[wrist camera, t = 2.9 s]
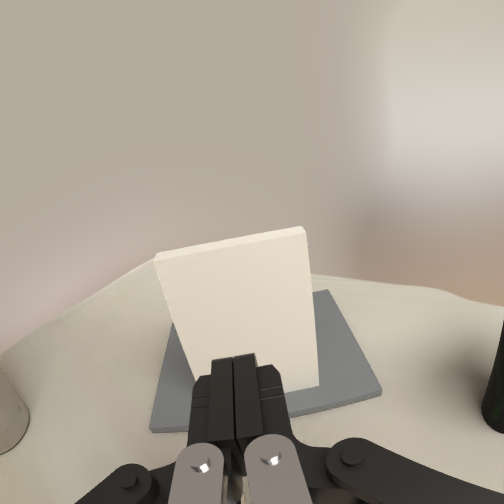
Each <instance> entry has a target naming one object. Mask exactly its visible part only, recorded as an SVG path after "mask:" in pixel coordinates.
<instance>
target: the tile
mask: <svg viewBox="0 0 504 504" xmlns="http://www.w3.org/2000/svg"><path fill="white" fill-rule="evenodd" d="M153 262H154V265H155V269H156V272H157V275H158V278H159V281H160V284H161V287H162V290H163V294H164V297H165V300H166V302H167V305H168V308H169V311H170V314H171V317H172V320H173V323H174V325H175V328H176V331H177V334H178V336H179V339H180V342H181V345H182V347H183V350H184V353H185V355H186V358H187V360H188V363H189V365H190V368H191V371H192V373H193V376H194V378H195V381H197V380H198V378H199V376H203V375H210V374H211V362H212V360H214V359H220V358H226V357H233V358H234V356H238V355H244V354H249V353H255V356H256V360H257V364H258V367H259V366H264V365H270V364H272V365H273V366H274V367H275V368H276V369H277V370H278V371H279V372H280V375H281V380H282V385H283V390H284V393H287V392H292V391H297V390H302V389H306V388H311V387H316V386H319V373H318V357H317V343H316V330H315V317H314V306H313V295H312V284H311V274H310V265H309V255H308V246H307V237H306V232H305V230H304V229H303V228H302V226H298V227H292V228H287V229H281V230H276V231H270V232H265V233H259V234H254V235H248V236H243V237H238V238H233V239H227V240H222V241H216V242H211V243H206V244H201V245H196V246H190V247H186V248H180V249H175V250H169V251H164V252H159V253H157V255H156V257H155V258H154V260H153Z"/></svg>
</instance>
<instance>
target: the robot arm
mask: <svg viewBox="0 0 504 504" xmlns="http://www.w3.org/2000/svg"><path fill="white" fill-rule="evenodd" d="M28 422H29V412H28V409H27V407H26V406H25V405H24V403H23V402H22V401H21V399H20V398H19V396H18V395H17V394H16V392H15V391H14V389H13V388H12V386H11V385H10V384H9V382H8V380H7V379H6V377H5V376H4V374H3V373H2V371H1V370H0V454H2V453H4V452H6V451H8V450H10V449H11V448H12V447H14V446H15V445H16V444H17V443H18V442H19V440H20V439H21V438H22V436H23V435H24V433H25V431H26V429H27V426H28ZM244 476H247V478H248V484H249V490H250V495H251V501H252V504H504V494H502V493H499V492H495V491H492V490H489V489H486V488H483V487H480V486H477V485H474V484H471V483H468V482H465V481H462V480H460V479H457V478H454V477H452V476H449V475H446V474H444V473H441V472H439V471H436V470H434V469H431V468H429V467H426V466H424V465H421V464H419V463H417V462H414V461H412V460H410V459H407V458H405V457H403V456H401V455H398V454H396V453H394V452H392V451H390V450H387V449H385V448H383V447H381V446H379V445H377V444H375V443H373V442H371V441H369V440H366V439H363V438H348V439H344V440H342V441H340V442H338V443H336V444H335V445H334V446H333V447H332V448H325V447H311V446H308V445H305V444H303V443H301V442H300V441H298V440H297V439H296V438H295V436H294V435H293V433H292V430H291V425H290V420H289V415H288V410H287V405H286V400H285V395H284V390H283V385H282V380H281V375H280V372H279V371H278V370H277V369H276V368H275V367H274V366H273V365H272V364H270V365H264V366H259V367H258V364H257V360H256V356H255V353H249V354H244V355H238V356H234V358H233V357H226V358H220V359H214V360H212V362H211V374H210V375H203V376H199V378H198V380H197V381H196V383H195V384H194V386H193V391H192V401H191V410H190V420H189V430H188V441H187V447H186V448H185V449H184V450H183V451H181V453H180V454H179V455H178V457H177V460H176V461H175V462H174V463H172V464H170V465H167V466H164V467H161V468H157V469H154V470H150V471H148V470H147V469H146V468H145V467H143V466H141V465H139V464H126V465H123V466H121V467H119V468H117V469H116V470H115V471H114V472H112V473H111V474H110V475H109V476H108V477H107V478H105V479H104V480H103V481H102V482H101V483H99V484H98V485H97V486H96V487H95V488H93V489H92V490H91V491H90V492H88V493H87V494H86V495H85V496H83V497H82V498H81V499H80V500H78V501H77V502H76V503H75V504H244V492H243V482H242V477H244Z"/></svg>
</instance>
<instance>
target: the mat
mask: <svg viewBox="0 0 504 504" xmlns="http://www.w3.org/2000/svg"><path fill="white" fill-rule="evenodd" d="M312 295H313V306H314V317H315V330H316V343H317V357H318V373H319V386H316V387H311V388H306V389H302V390H297V391H292V392H287V393H284V395H285V400H286V405H287V410H288V415H289V418H292V417H297V416H302V415H307V414H312V413H316V412H321V411H325V410H329V409H333V408H337V407H341V406H345V405H349V404H352V403H356V402H360V401H363V400H367V399H370V398H373V397H377V396H380V395H381V393H382V388H381V386H380V384H379V382H378V380H377V378H376V377H375V375H374V373H373V371H372V369H371V367H370V365H369V363H368V361H367V359H366V358H365V356H364V354H363V352H362V350H361V348H360V346H359V344H358V343H357V341H356V339H355V337H354V335H353V333H352V332H351V330H350V328H349V326H348V324H347V322H346V321H345V319H344V317H343V315H342V313H341V312H340V310H339V308H338V306H337V305H336V303H335V301H334V299H333V297H332V296H331V294H330V292H329V290H328V289H327V290H322V291H317V292H312ZM195 383H196V381H195V378H194V376H193V373H192V371H191V368H190V365H189V363H188V360H187V358H186V355H185V353H184V350H183V347H182V345H181V342H180V339H179V336H178V334H177V331H176V328H175V325H174V323H173V324H172V329H171V333H170V337H169V341H168V345H167V349H166V353H165V358H164V362H163V366H162V371H161V375H160V379H159V384H158V389H157V393H156V398H155V403H154V407H153V412H152V417H151V422H150V427H149V428H150V429H151V431H152V433H165V432H184V431H188V430H189V420H190V410H191V401H192V391H193V386H194V384H195Z"/></svg>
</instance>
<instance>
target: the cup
mask: <svg viewBox="0 0 504 504" xmlns="http://www.w3.org/2000/svg"><path fill="white" fill-rule="evenodd" d="M482 414H483V417H484V420H485V421H486V423H487V424H488V425H489V426H490V427H491V428H492V429H494V430H495V431H497V432H500V433H504V322H503V327H502V332H501V337H500V341H499V345H498V350H497V354H496V358H495V362H494V366H493V369H492V373H491V376H490V380H489V383H488V386H487V390H486V393H485V396H484V399H483V402H482Z"/></svg>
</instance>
